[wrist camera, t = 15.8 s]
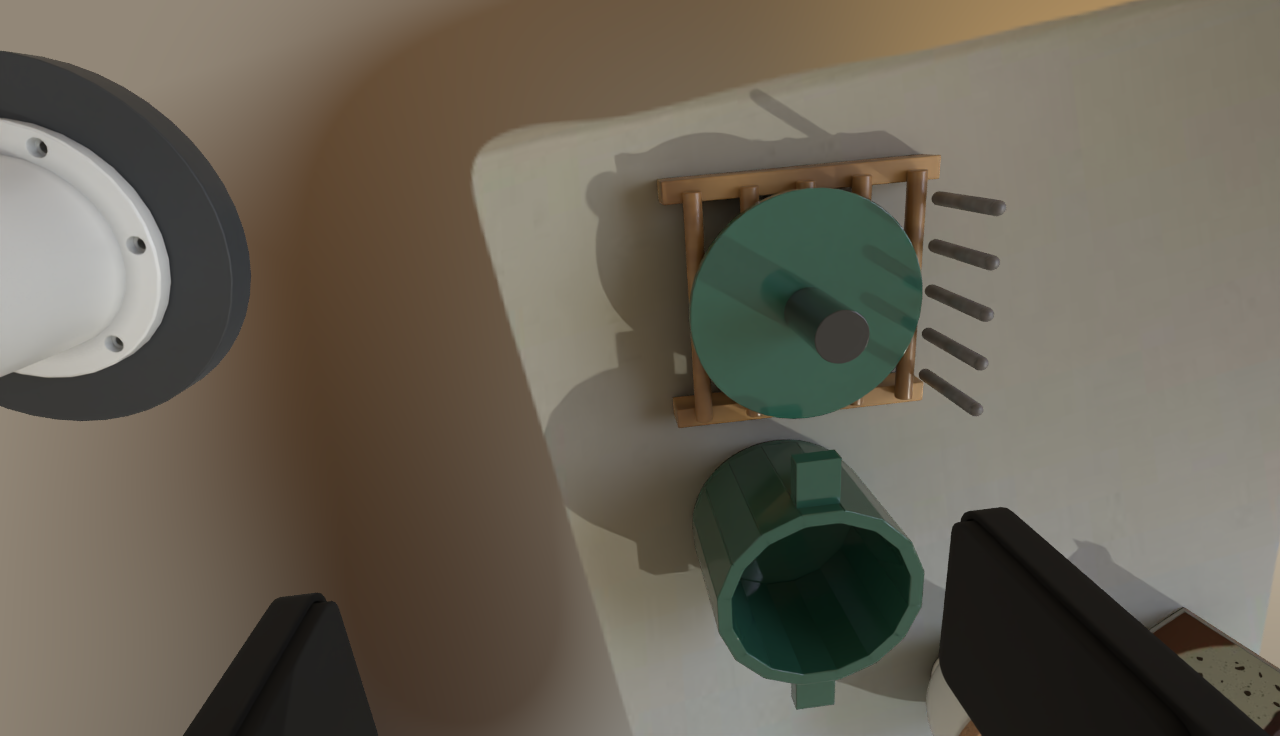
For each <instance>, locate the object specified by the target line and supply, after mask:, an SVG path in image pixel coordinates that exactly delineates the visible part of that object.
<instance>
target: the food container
mask: <svg viewBox="0 0 1280 736" xmlns="http://www.w3.org/2000/svg"><path fill="white" fill-rule="evenodd" d="M1149 631H1150V632H1152V633H1153V634H1154V635H1155V636H1156V637H1157V638H1159V639H1160V640H1161V641H1162V642H1163V643H1164V644H1165V645H1167V646H1168V647H1169V648H1170V649H1171V650H1172V651H1174V652H1175V653H1176V654H1177V655H1178V656H1179V657H1180V658H1182V659H1183V660H1184V661H1185V662H1186V663H1187V664H1189V665H1190V666H1191V667H1192V668H1193V669H1194V670H1195V671H1197V672H1198V673H1199V674H1200V675H1201V676H1202V677H1203V678H1205V679H1206V680H1207V681H1208V682H1209V683H1210V684H1212V685H1213V686H1214V687H1215V688H1216V689H1217V690H1218V691H1220V692H1221V693H1222V694H1223V695H1224V696H1225V697H1227V698H1228V699H1229V700H1230V701H1231V702H1232V703H1233V704H1235V705H1236V706H1237V707H1238V708H1239V709H1240V710H1241V711H1243V712H1244V713H1245V714H1246V715H1247V716H1248V717H1250V718H1251V719H1252V720H1253V721H1254V722H1255V723H1256V724H1258V725H1259V726H1260V727H1261V728H1262V729H1263V730H1265V731H1266V732H1267V733H1268V734H1269V735H1270V736H1280V669H1279V668H1278V667H1276V666H1274V665H1273V664H1271V663H1270V662H1268V661H1266V660H1265V659H1264V658H1262V657H1260V656H1259V655H1257V654H1256V653H1254V652H1253V651H1251V650H1250V649H1248V648H1247V647H1245V646H1243V645H1242V644H1240V643H1239V642H1237V641H1236V640H1234V639H1233V638H1231V637H1229V636H1228V635H1226V634H1225V633H1223V632H1222V631H1220V630H1219V629H1217V628H1215V627H1214V626H1212V625H1211V624H1209V623H1208V622H1206V621H1205V620H1203V619H1201V618H1200V617H1198V616H1197V615H1195V614H1194V613H1192V612H1191V611H1189V610H1188V609H1186V608H1182V609H1181V610H1179V611H1178V612H1176V613H1174V614H1173V615H1171V616H1170V617H1168V618H1167V619H1165V620H1164V621H1162V622H1161V623H1159V624H1158V625H1156V626H1155V627H1153V628H1152V629H1150V630H1149Z"/></svg>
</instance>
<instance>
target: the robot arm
mask: <svg viewBox="0 0 1280 736" xmlns="http://www.w3.org/2000/svg"><path fill="white" fill-rule="evenodd" d="M143 242H144V243H145V245H144V243H143ZM170 286H171V276H170V265H169V258H168V254H167V251H166V247H165V244H164V240H163V237H162V234H161V232H160V230H159V228H158V226H157V224H156V222H155V220H154V218H153V216H152V214H151V212H150V210H149V209H148V208H147V206H146V205H145V204H144V202H143V201H142V199H141V198H140V197H139V195H138V194H137V192H136V191H135V190H134V188H133V187H132V186H131V185H130V184H129V183H128V182H127V181H126V180H125V179H124V178H123V177H122V176H121V175H120V174H119V173H118V172H117V171H116V170H115V169H114V168H113V167H112V166H111V165H109V164H108V163H107V162H105V161H104V160H103V159H101V158H100V157H99V156H97V155H96V154H95V153H94V152H92V151H91V150H90V149H88V148H86V147H84V146H83V145H81V144H79V143H77V142H75V141H74V140H72V139H70V138H68V137H66V136H64V135H63V134H60V133H58V132H55V131H52V130H49V129H47V128H44V127H41V126H39V125H36V124H33V123H28V122H23V121H17V120H12V119H7V118H0V377H2V376H5V375H7V374H10V373H12V372H16V373H19V374H24V375H32V376H39V377H46V378H52V377H74V376H80V375H85V374H90V373H94V372H97V371H99V370H102V369H104V368H107V367H109V366H111V365H114V364H116V363H118V362H120V361H121V360H123V359H125V358H127V357H129V356H130V355H132V354H134V353H135V352H136V351H138V350H139V349H140V348H141V347H142V346H143V345H144V344H145V343H147V342H148V341H149V340H150V338H151V337H152V335H153V334H154V333H155V331H156V330H157V328H158V327H159V325H160V324H161V322H162V319H163V316H164V314H165V311H166V308H167V306H168V302H169V294H170ZM939 664H940V668H941V672H942V675H943V677H944V679H945V681H946V683H947V685H948V686H949V688H950V689H951V691H952V692H953V694H954V695H955V697H956V698H957V700H958V701H959V703H960V704H961V706H962V707H963V709H964V710H965V712H966V713H967V715H968V716H969V718H970V719H971V721H972V722H973V724H974V725H975V727H976V728H977V730H978V731H979V733H980V734H981V736H1270V735H1269V734H1268V733H1267V732H1266V731H1265V730H1263V729H1262V728H1261V727H1260V726H1259V725H1258V724H1256V723H1255V722H1254V721H1253V720H1252V719H1251V718H1250V717H1248V716H1247V715H1246V714H1245V713H1244V712H1243V711H1241V710H1240V709H1239V708H1238V707H1237V706H1236V705H1235V704H1233V703H1232V702H1231V701H1230V700H1229V699H1228V698H1227V697H1225V696H1224V695H1223V694H1222V693H1221V692H1220V691H1218V690H1217V689H1216V688H1215V687H1214V686H1213V685H1212V684H1210V683H1209V682H1208V681H1207V680H1206V679H1205V678H1203V677H1202V676H1201V675H1200V674H1199V673H1198V672H1197V671H1195V670H1194V669H1193V668H1192V667H1191V666H1190V665H1189V664H1187V663H1186V662H1185V661H1184V660H1183V659H1182V658H1180V657H1179V656H1178V655H1177V654H1176V653H1175V652H1174V651H1172V650H1171V649H1170V648H1169V647H1168V646H1167V645H1165V644H1164V643H1163V642H1162V641H1161V640H1160V639H1159V638H1157V637H1156V636H1155V635H1154V634H1153V633H1152V632H1150V631H1149V630H1148V629H1147V628H1146V627H1145V626H1144V625H1142V624H1141V623H1140V622H1139V621H1138V620H1137V619H1136V618H1134V617H1133V616H1132V615H1131V614H1130V613H1129V612H1127V611H1126V610H1125V609H1124V608H1123V607H1122V606H1121V605H1119V604H1118V603H1117V602H1116V601H1115V600H1114V599H1112V598H1111V597H1110V596H1109V595H1108V594H1107V593H1106V592H1104V591H1103V590H1102V589H1101V588H1100V587H1099V586H1098V585H1096V584H1095V583H1094V582H1093V581H1092V580H1091V579H1089V578H1088V577H1087V576H1086V575H1085V574H1084V573H1083V572H1081V571H1080V570H1079V569H1078V568H1077V567H1076V566H1074V565H1073V564H1072V563H1071V562H1070V561H1069V560H1068V559H1066V558H1065V557H1064V556H1063V555H1062V554H1061V553H1060V552H1058V551H1057V550H1056V549H1055V548H1054V547H1053V546H1051V545H1050V544H1049V543H1048V542H1047V541H1046V540H1045V539H1043V538H1042V537H1041V536H1040V535H1039V534H1038V533H1036V532H1035V531H1034V530H1033V529H1032V528H1031V527H1030V526H1028V525H1027V524H1026V523H1025V522H1024V521H1023V520H1021V519H1020V518H1019V517H1018V516H1017V515H1016V514H1015V513H1013V512H1012V511H1011V510H1009V509H1008V508H1003V507H999V508H991V509H983V510H975V511H968V512H966V513H964V514H963V516H962V518H961V522H958V523H955V524H954V526H953V527H952V532H951V542H950V552H949V561H948V571H947V581H946V591H945V601H944V610H943V620H942V630H941V640H940V650H939ZM183 736H378V734H377V730H376V726H375V723H374V720H373V717H372V713H371V710H370V707H369V704H368V701H367V697H366V694H365V691H364V688H363V685H362V681H361V678H360V675H359V672H358V669H357V665H356V662H355V659H354V656H353V652H352V649H351V646H350V643H349V640H348V636H347V633H346V630H345V627H344V624H343V620H342V617H341V614H340V611H339V608H338V606H337V604H336V603H335V602H333V601H330V602H327V601H326V599H325V597H324V596H323V595H322V594H321V593H311V594H302V595H294V596H286V597H280V598H277V599H275V600H274V601H273V602H272V603H271V605H270V606H269V608H268V609H267V611H266V612H265V614H264V615H263V616H262V618H261V620H260V621H259V622H258V624H257V626H256V627H255V628H254V630H253V632H252V633H251V635H250V636H249V637H248V639H247V641H246V642H245V644H244V645H243V646H242V648H241V650H240V651H239V652H238V654H237V656H236V657H235V658H234V660H233V661H232V663H231V665H230V666H229V667H228V669H227V670H226V672H225V673H224V675H223V676H222V678H221V680H220V681H219V683H218V684H217V686H216V687H215V688H214V690H213V692H212V693H211V694H210V696H209V697H208V699H207V700H206V702H205V704H204V705H203V706H202V708H201V710H200V711H199V713H198V714H197V715H196V717H195V719H194V720H193V721H192V723H191V724H190V726H189V727H188V729H187V730H186V732H185V733H184V735H183Z"/></svg>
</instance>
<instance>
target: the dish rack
mask: <svg viewBox="0 0 1280 736" xmlns="http://www.w3.org/2000/svg"><path fill="white" fill-rule="evenodd" d="M940 160H941V155H927V154H919V155H909V156H898V157H888V158H877V159H866V160H856V161H845V162H835V163H824V164H814V165H803V166H792V167H782V168H771V169H761V170H750V171H739V172H729V173H718V174H708V175H697V176H686V177H676V178H665V179H657V187H658V201H659V202H660V203H661V204H663V205H670V204H680V203H683V213H684V230H685V247H686V264H687V281H688V297H689V301H690V294H691V288H692V285H693V281H694V278H695V274H696V272H697V270H698V267H699V265H700V262H701V260H702V258H703V257H704V255H705V248H704V228H703V208H702V201H711V200H721V199H732V198H740V213H742V212H743V211H744V210H746V209H747V208H749V207H751V206H752V205H754V204H755V203H757V202H759V196H763V195H773V194H778V193H781V192H784V191H788V190H792V189H798V188H804V187H826V188H845V187H852V193H855V194H858V195H860V196H862V197H865V198H867V199H869V200H871V195H872V185H877V184H887V183H897V182H907V188H906V204H905V221H904V231H905V233H906V234H907V236H908V237H909V239H910V241H911V243H912V245H913V247H914V250H915V252H916V254H917V258H918V262H919V265H920V269H921V265H922V251H923V237H924V223H925V208H926V194H927V180H928V179H938V178H939V173H940ZM932 202H933V203H934V204H935V205H939V206H945V207H950V208H955V209H960V210H966V211H971V212H976V213H982V214H987V215H992V216H1000V215H1002V214H1003V213H1004V212H1005V210H1006V204H1005V203H1004V202H1003V201H1001V200H995V199H988V198H981V197H975V196H968V195H961V194H954V193H948V192H941V191H939V192H936V193H934V194H933V196H932ZM928 248H929V250H930V251H931V252H934V253H937V254H940V255H943V256H946V257H949V258H952V259H955V260H959V261H962V262H965V263H968V264H971V265H974V266H977V267H980V268H983V269H986V270H995V269H997V268H998V267H999V265H1000V260H999V258H998V257H997V256H994V255H991V254H987V253H984V252H980V251H977V250H973V249H970V248H966V247H963V246H959V245H956V244H952V243H949V242H945V241H942V240H938V239H934V240H932V241H930V243H929V245H928ZM925 294H926V295H927V296H928V297H930V298H933V299H935V300H937V301H939V302H941V303H943V304H946V305H948V306H950V307H952V308H954V309H957V310H959V311H961V312H963V313H965V314H967V315H970V316H972V317H974V318H976V319H978V320H981V321H983V322H988V321H990V320H992V318H993V317H994V312H993V310H992V309H991V308H989V307H986V306H984V305H981V304H979V303H977V302H974V301H972V300H969V299H967V298H965V297H962V296H960V295H957V294H955V293H953V292H950V291H948V290H945V289H943V288H941V287H938V286H936V285H929V286H927V287H926V289H925ZM916 337H917V327H916V330H915V333H914V335H913V338H912V340H911V342H910V344H909V346H908V348H907V350H906V352H905V353H904V355H903V357H902V358H901V360H900V361H899V362H898V364H897V365H896V372H895V373H890V374H889V375H888V376H887V377H886V378H885V379H884V380H883V381H882V382H881V383H880V384H879V385H878V386H877V387H876V388H874V389H873V390H872V391H871V392H869V393H868V394H866V395H865V396H864V397H862V398H861V399H859V400H857V401H855V402H854V403H852V404H850V405H848V406H846V407H844V408H841V409H848V408H857V407H865V406H874V405H883V404H891V403H900V402H909V401H917V400H922V395H923V382H922V381H921V380H923V381H924V382H925V383H927V384H928V385H930V386H931V387H932V388H934V389H935V390H937V391H938V392H939V393H941V394H942V395H944V396H945V397H946V398H948V399H949V400H951V401H952V402H954V403H955V404H956V405H958V406H959V407H961V408H962V409H963V410H965V411H966V412H968V413H969V414H970V415H972V416H979V415H981V414H982V412H983V407H982V405H981V404H979V403H978V402H976V401H975V400H973V399H972V398H970V397H969V396H967V395H966V394H964V393H963V392H961V391H960V390H958V389H957V388H955V387H954V386H952V385H951V384H949V383H948V382H946V381H945V380H943V379H942V378H940V377H939V376H937V375H936V374H934V373H933V372H932V371H930V370H928V369H923V370H921V371H920V372H919V377H920V379H921V380H920V379H918V378H917V377H915V376H914V365H915V351H916ZM922 337H923V338H924V339H925V340H927V341H929V342H931V343H932V344H934V345H936V346H937V347H939V348H941V349H943V350H944V351H946V352H948V353H949V354H951V355H953V356H954V357H956V358H958V359H960V360H961V361H963V362H965V363H966V364H968V365H970V366H971V367H973V368H975V369H977V370H984V369H986V368H987V367H988V360H987V359H986V358H985V357H983V356H982V355H980V354H978V353H976V352H974V351H972V350H970V349H969V348H967V347H965V346H963V345H961V344H959V343H958V342H956V341H954V340H952V339H950V338H948V337H947V336H945V335H943V334H941V333H939V332H937V331H936V330H934V329H932V328H926V329H924V330H923V331H922ZM691 348H692V365H693V381H694V395H691V396H682V397H673V407H674V416H675V419H676V422H677V425H678V427H679V428H683V427H691V426H700V425H709V424H718V423H726V422H735V421H744V420H752V419H761V418H770V417H772V416H767V415H763V414H760V413H757V412H754V411H751V410H749V409H747V408H745V407H743V406H741V405H739V404H738V403H736V402H735V401H733V400H732V399H730V398H729V397H728V396H726V395H725V394H724V393H723V392H717V393H712V390H711V379H710V378H709V376H708V375H707V373H706V371H705V370H704V368H703V367H702V365H701V363H700V361H699V359H698V356H697V354H696V352H695V349H694V346H693V342H692V338H691Z"/></svg>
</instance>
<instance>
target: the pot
mask: <svg viewBox="0 0 1280 736" xmlns="http://www.w3.org/2000/svg"><path fill="white" fill-rule="evenodd" d="M693 534H694V542H695V548H696V552H697V556H698V559H699V563H700V567H701V570H702V574H703V577H704V581H705V585H706V588H707V592H708V595H709V599H710V603H711V606H712V610H713V613H714V617H715V621H716V624H717V628H718V632H719V634H720V636H721V637H722V639H723V640H724V642H725V644H726V645H727V647H728V649H729V650H730V652H731V654H732V655H733V657H734V658H735V660H736V661H738V662H739V663H741V664H743V665H744V666H746V667H747V668H749V669H750V670H752V671H754V672H755V673H757V674H758V675H760V676H762V677H763V678H766V679H770V680H776V681H781V682H787V683H791V697H792V700H793V702H794V705H795V708H796V709H797V710H798V709H805V708H812V707H819V706H827V705H834V699H835V680H839V679H842V678H844V677H846V676H849V675H851V674H853V673H855V672H857V671H860V670H862V669H864V668H866V667H868V666H871V665H873V664H874V663H877V662H878V661H879V660H880V659H881V658H882V657H883V656H884V655H886V654H887V653H888V652H889V651H890V650H891V649H892V648H893V647H895V646H896V645H897V644H898V643H899V642H900V641H901V640H902V639H904V637H905V636H906V634H907V632H908V630H909V629H910V627H911V625H912V623H913V621H914V619H915V618H916V616H917V614H918V612H919V610H920V609H921V607H922V606H921V605H922V595H923V583H924V569H923V567H922V564H921V562H920V560H919V557H918V555H917V553H916V550H915V548H914V546H913V543H912V542H911V540H910V539H909V538H908V537H907V535H906V534H905V533H904V532H903V531H902V529H901V528H900V527H899V526H898V524H897V523H896V522H895V521H894V520H893V518H892V517H891V516H890V515H889V513H888V512H887V511H886V510H885V509H884V507H883V506H882V505H881V504H880V502H879V501H878V500H877V499H876V498H875V496H874V495H873V494H872V493H871V491H870V490H869V489H868V488H867V486H866V485H865V484H864V483H863V482H862V480H861V479H860V478H859V477H858V475H857V474H856V473H855V472H854V471H853V469H852V468H850V467H849V466H848V465H847V464H846V463H845V462H844V461H843V460H842V458H841V457H840V456H839V454H838V453H837V452H836V451H835V450H828V449H826V448H824V447H822V446H819V445H816V444H813V443H810V442H805V441H800V440H776V441H770V442H765V443H761V444H758V445H754V446H752V447H750V448H747V449H745V450H743V451H741V452H739V453H737V454H736V455H734V456H732V457H731V458H730V459H728V460H727V461H725V462H724V463H723V464H722V465H721V466H720V467H719V468H718V469H716V470H715V471H714V473H713V474H712V475H711V476H710V477H709V479H708V480H707V481H706V483H705V485H704V486H703V488H702V490H701V492H700V494H699V496H698V498H697V501H696V504H695V507H694V513H693Z"/></svg>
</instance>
